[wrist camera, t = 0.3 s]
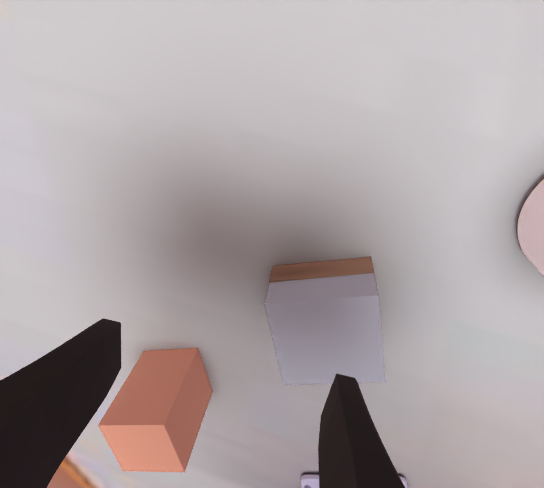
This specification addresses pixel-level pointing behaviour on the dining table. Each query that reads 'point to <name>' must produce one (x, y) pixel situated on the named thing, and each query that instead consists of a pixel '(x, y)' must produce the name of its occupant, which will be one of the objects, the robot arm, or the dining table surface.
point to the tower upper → (326, 329)
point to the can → (533, 227)
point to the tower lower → (321, 269)
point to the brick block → (158, 411)
